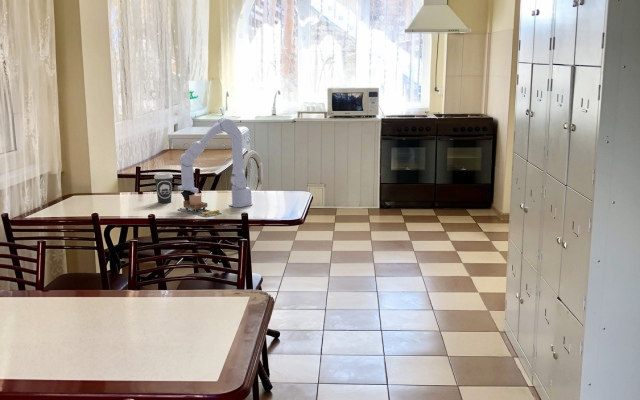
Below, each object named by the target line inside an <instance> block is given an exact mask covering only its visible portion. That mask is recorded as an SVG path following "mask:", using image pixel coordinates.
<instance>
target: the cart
mask: <svg viewBox="0 0 640 400" xmlns="http://www.w3.org/2000/svg"><path fill="white" fill-rule="evenodd" d="M201 202H202V204H197V205H191V204H190V200H188V201H185V200H183V208H186V210H187V209H188V208H189V209H192V210H193V211H195V209H199V208H202V209H206V208H208V203H207V202H204V201H201Z"/></svg>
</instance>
